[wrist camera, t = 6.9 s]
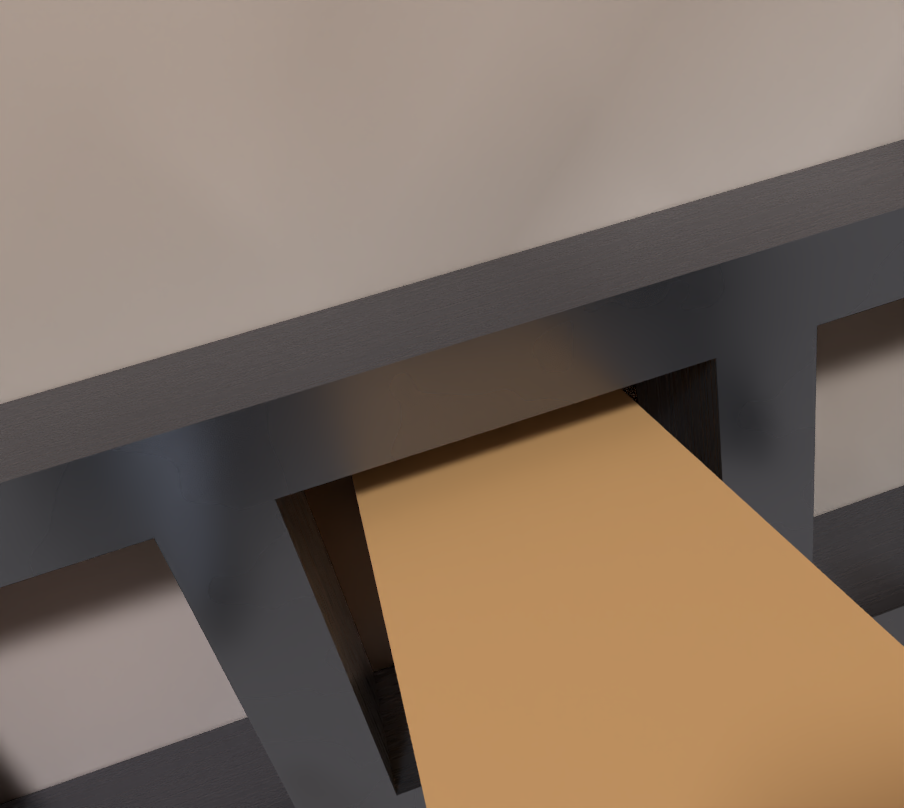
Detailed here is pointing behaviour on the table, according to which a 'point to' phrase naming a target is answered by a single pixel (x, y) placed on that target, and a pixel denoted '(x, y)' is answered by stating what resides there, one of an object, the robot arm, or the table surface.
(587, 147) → the table surface
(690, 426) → the rail
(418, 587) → the orange peg
